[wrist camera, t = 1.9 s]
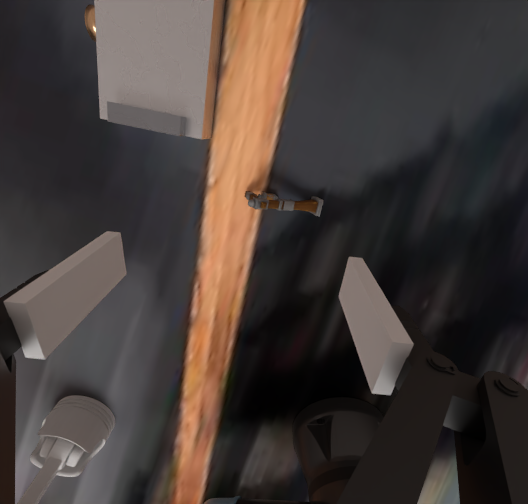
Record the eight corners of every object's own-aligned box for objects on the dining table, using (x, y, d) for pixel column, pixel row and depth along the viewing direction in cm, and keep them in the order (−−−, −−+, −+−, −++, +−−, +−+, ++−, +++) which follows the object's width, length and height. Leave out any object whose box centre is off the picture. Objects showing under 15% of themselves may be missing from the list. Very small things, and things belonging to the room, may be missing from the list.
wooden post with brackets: (238, 184, 29) (252, 196, 25) (303, 190, 32) (324, 200, 29) (236, 201, 30) (249, 214, 26) (300, 204, 33) (320, 217, 29)
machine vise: (235, -96, 21) (222, -166, 16) (211, 138, 28) (197, 139, 23) (105, -127, 21) (51, -208, 16) (113, 118, 28) (77, 115, 23)
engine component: (122, 409, 46) (62, 387, 44) (15, 603, 27) (-95, 575, 25) (105, 444, 50) (49, 425, 48) (1, 633, 31) (-95, 611, 29)
